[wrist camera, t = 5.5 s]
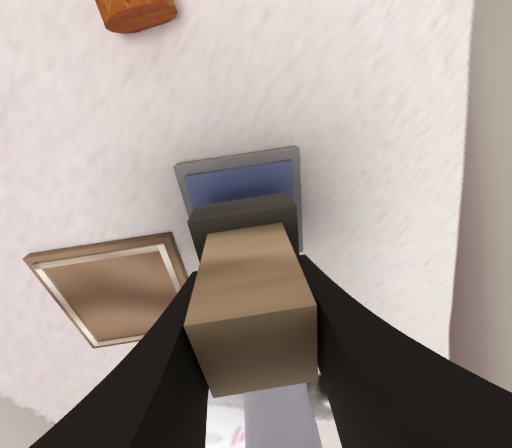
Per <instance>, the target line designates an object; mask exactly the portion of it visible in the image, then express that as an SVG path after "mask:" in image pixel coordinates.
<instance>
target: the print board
mask: <svg viewBox="0 0 512 448" xmlns="http://www.w3.org/2000/svg"><path fill="white" fill-rule="evenodd" d="M23 260H24V261H25V263H26V264H27V265H28V267H29V268H30V269H31V270H32V272H33V273H34V274H35V275H36V277H37V278H38V279H39V280H40V282H41V283H42V284H43V286H44V287H45V288H46V289H47V291H48V292H49V293H50V294H51V296H52V297H53V298H54V299H55V301H56V302H57V303H58V305H59V306H60V307H61V308H62V310H63V311H64V312H65V313H66V315H67V316H68V317H69V319H70V320H71V321H72V322H73V324H74V325H75V326H76V327H77V329H78V330H79V331H80V332H81V334H82V335H83V336H84V338H85V339H86V340H87V341H88V343H89V344H90V345H91V346H92V348H100V347H106V346H112V345H118V344H125V343H131V342H137V341H140V340H141V339H142V338H143V337H144V335H145V334H146V333H147V332H148V330H149V329H150V328H151V327H152V326H153V324H154V323H155V322H156V321H157V319H158V318H159V317H160V316H161V314H162V313H163V312H164V310H165V309H166V308H167V306H168V305H169V304H170V302H171V301H172V300H173V298H174V297H175V296H176V294H177V293H178V292H179V290H180V289H181V287H182V286H183V285H184V283H185V282H186V280H187V279H188V278H187V275H186V272H185V269H184V267H183V264H182V261H181V258H180V256H179V253H178V250H177V247H176V245H175V242H174V239H173V236H172V234H171V232H170V233H163V234H157V235H150V236H144V237H137V238H131V239H124V240H118V241H111V242H105V243H98V244H92V245H85V246H79V247H72V248H66V249H59V250H53V251H46V252H39V253H33V254H29V255H27V256H26V257H24V258H23Z"/></svg>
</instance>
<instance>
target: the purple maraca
mask: <svg viewBox="0 0 512 448" xmlns="http://www.w3.org/2000/svg"><path fill="white" fill-rule="evenodd" d="M95 1H96V4H97V6H98V9H99V11H100V14H101V17H102V19H103V22H104V25H105V27H106V29H108V30H109V31H111V32H116V33H135V32H139V31H142V30H145V29H148V28H151V27H155V26H158V25H161V24H164V23H167V22H169V21H170V20H171V19H172V18H174V17H175V15H176V13H177V10H176V7H175V5H174V2H173V0H95Z"/></svg>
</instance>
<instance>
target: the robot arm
mask: <svg viewBox="0 0 512 448" xmlns="http://www.w3.org/2000/svg"><path fill="white" fill-rule="evenodd" d="M296 257H297V260H298V262H299V264H300V267H301V269H302V271H303V274H304V276H305V278H306V281H307V283H308V285H309V288H310V290H311V292H312V295H313V297H314V299H315V302H316V304H317V365H318V367H319V370H320V373H321V376H322V379H323V382H324V385H325V389H326V392H327V395H328V399H329V402H330V406H331V409H332V413H333V416H334V420H335V423H336V427H337V431H338V434H339V438H340V441H341V445H342V448H512V393H511V392H509V391H507V390H505V389H503V388H501V387H499V386H497V385H495V384H493V383H491V382H488V381H487V380H485V379H483V378H481V377H479V376H478V375H476V374H474V373H472V372H470V371H468V370H466V369H464V368H462V367H461V366H459V365H457V364H455V363H453V362H451V361H450V360H448V359H446V358H444V357H442V356H441V355H439V354H437V353H436V352H434V351H432V350H430V349H429V348H427V347H425V346H424V345H422V344H420V343H419V342H417V341H415V340H413V339H412V338H410V337H408V336H407V335H405V334H404V333H402V332H400V331H399V330H397V329H396V328H394V327H393V326H391V325H390V324H388V323H387V322H385V321H384V320H382V319H381V318H379V317H378V316H377V315H375V314H374V313H372V312H371V311H370V310H368V309H367V308H366V307H364V306H363V305H362V304H360V303H359V302H358V301H356V300H355V299H354V298H353V297H351V296H350V295H349V294H348V293H346V292H345V291H344V290H343V289H342V288H340V287H339V286H338V285H337V284H336V283H335V282H334V281H332V280H331V279H330V278H329V277H328V276H327V275H326V274H325V273H324V272H323V271H321V270H320V269H319V268H318V267H317V266H316V265H315V264H314V263H313V262H312V261H311V260H310V259H309V258H308V257H307V256H306V255H305V254H304V255H298V256H296ZM197 273H198V271H195V272H192V274H191V275H190V276H189V278H188V279H187V280H186V282H185V283H184V285H183V286H182V287H181V289H180V290H179V292H178V293H177V294H176V296H175V297H174V298H173V300H172V301H171V302H170V304H169V305H168V306H167V308H166V309H165V310H164V312H163V313H162V314H161V316H160V317H159V318H158V319H157V321H156V322H155V323H154V324H153V326H152V327H151V328H150V329H149V330H148V332H147V333H146V334H145V335H144V337H143V338H142V339H141V340H140V341H139V342H138V344H137V345H136V346H135V347H134V348H133V349H132V350H131V351H130V352H129V353H128V355H127V356H126V357H125V358H124V359H123V360H122V361H121V362H120V363H119V364H118V365H117V366H116V367H115V368H114V369H113V370H112V371H111V372H110V373H109V374H108V375H107V376H106V377H105V378H104V379H103V380H102V381H101V382H100V383H99V384H98V385H97V386H96V387H95V388H94V389H93V390H92V391H91V392H90V393H89V394H88V395H87V396H86V397H85V398H84V399H83V400H81V401H80V402H79V403H78V404H77V405H76V406H75V407H74V408H73V409H72V410H71V411H70V412H69V413H68V414H66V415H65V416H64V417H63V418H62V419H61V420H60V421H59V422H58V423H56V424H55V425H54V426H53V427H52V428H51V429H50V430H49V431H48V432H46V433H45V434H44V435H43V436H42V437H41V438H39V439H38V440H37V441H36V442H35V443H34V444H33V445H31V446H30V447H29V448H205V438H206V419H207V401H208V391H209V386H208V384H207V382H206V379H205V377H204V374H203V372H202V369H201V367H200V365H199V362H198V360H197V357H196V355H195V352H194V350H193V348H192V345H191V343H190V340H189V338H188V335H187V333H186V331H185V328H184V323H185V319H186V315H187V311H188V307H189V303H190V300H191V296H192V292H193V288H194V284H195V280H196V277H197ZM244 408H245V445H246V448H322V444H321V440H320V436H319V432H318V428H317V424H316V420H315V417H314V413H313V409H312V405H311V401H310V397H309V393H308V389H307V383H303V384H296V385H290V386H284V387H278V388H272V389H265V390H259V391H253V392H247V393H244Z"/></svg>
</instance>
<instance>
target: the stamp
mask: <svg viewBox="0 0 512 448" xmlns="http://www.w3.org/2000/svg"><path fill="white" fill-rule="evenodd" d="M187 223H188V226H189V229H190V232H191V236H192V239H193V242H194V246H195V249H196V252H197V255H198V259H199V262H200V265H199V269H198V273H197V277H196V280H195V284H194V288H193V292H192V296H191V300H190V303H189V307H188V311H187V315H186V319H185V323H184V328H185V331H186V333H187V335H188V338H189V340H190V343H191V345H192V348H193V350H194V352H195V355H196V357H197V360H198V362H199V365H200V367H201V369H202V372H203V374H204V377H205V379H206V382H207V384H208V386H209V389H210V391H211V394H212V396H213V398H216V397H222V396H228V395H234V394H241V393H247V392H253V391H259V390H265V389H272V388H278V387H284V386H290V385H296V384H303V383H309V382H315V381H318V369H317V304H316V302H315V299H314V297H313V295H312V292H311V290H310V288H309V285H308V283H307V281H306V278H305V276H304V274H303V271H302V269H301V267H300V264H299V262H298V260H297V257H296V256H298V255H299V238H298V219H297V205H296V203H295V202H294V200H293V199H292V198H291V196H290V195H289V193H288V192H284V193H277V194H271V195H264V196H257V197H251V198H244V199H238V200H231V201H225V202H218V203H211V204H205V205H198V206H195V207H194V209H193V211H192V213H191V215H190V218H189V220H188V222H187Z"/></svg>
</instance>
